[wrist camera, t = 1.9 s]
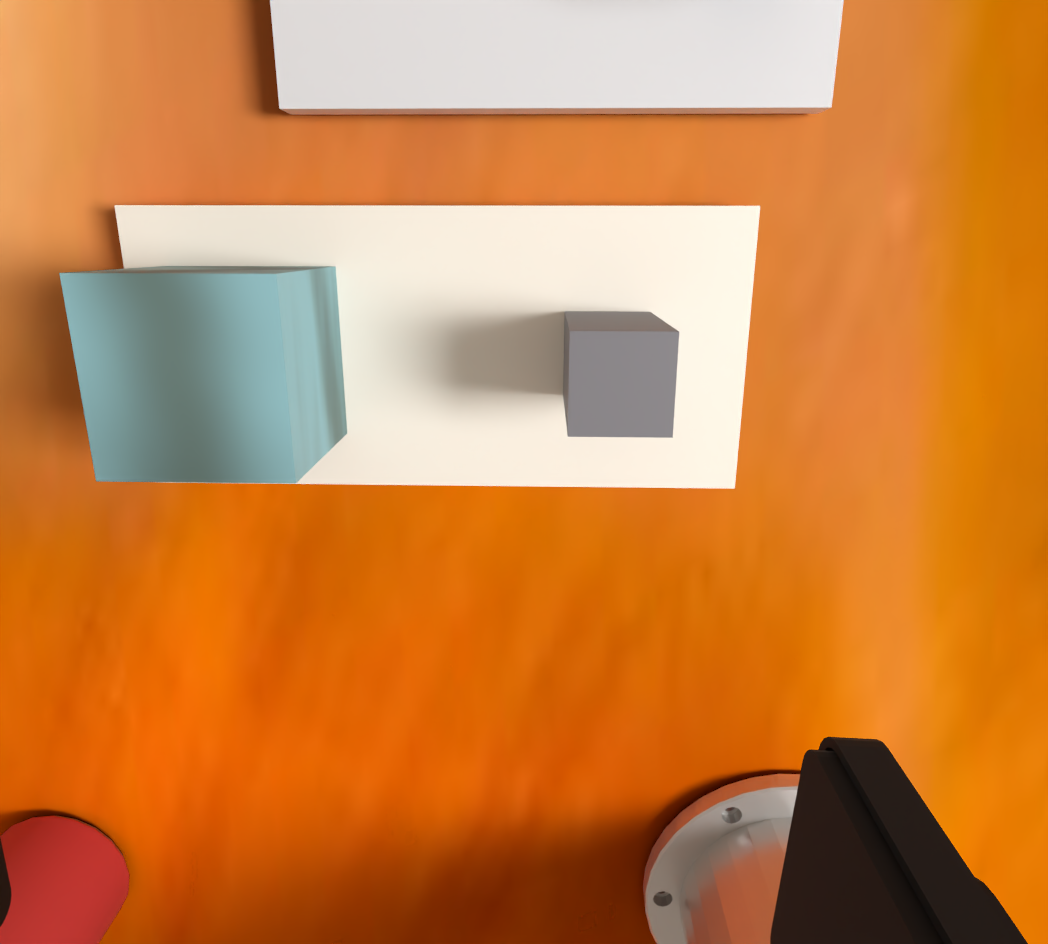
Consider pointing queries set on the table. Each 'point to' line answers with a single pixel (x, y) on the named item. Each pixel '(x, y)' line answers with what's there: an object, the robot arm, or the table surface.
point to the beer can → (61, 882)
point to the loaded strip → (509, 334)
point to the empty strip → (555, 56)
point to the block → (208, 371)
